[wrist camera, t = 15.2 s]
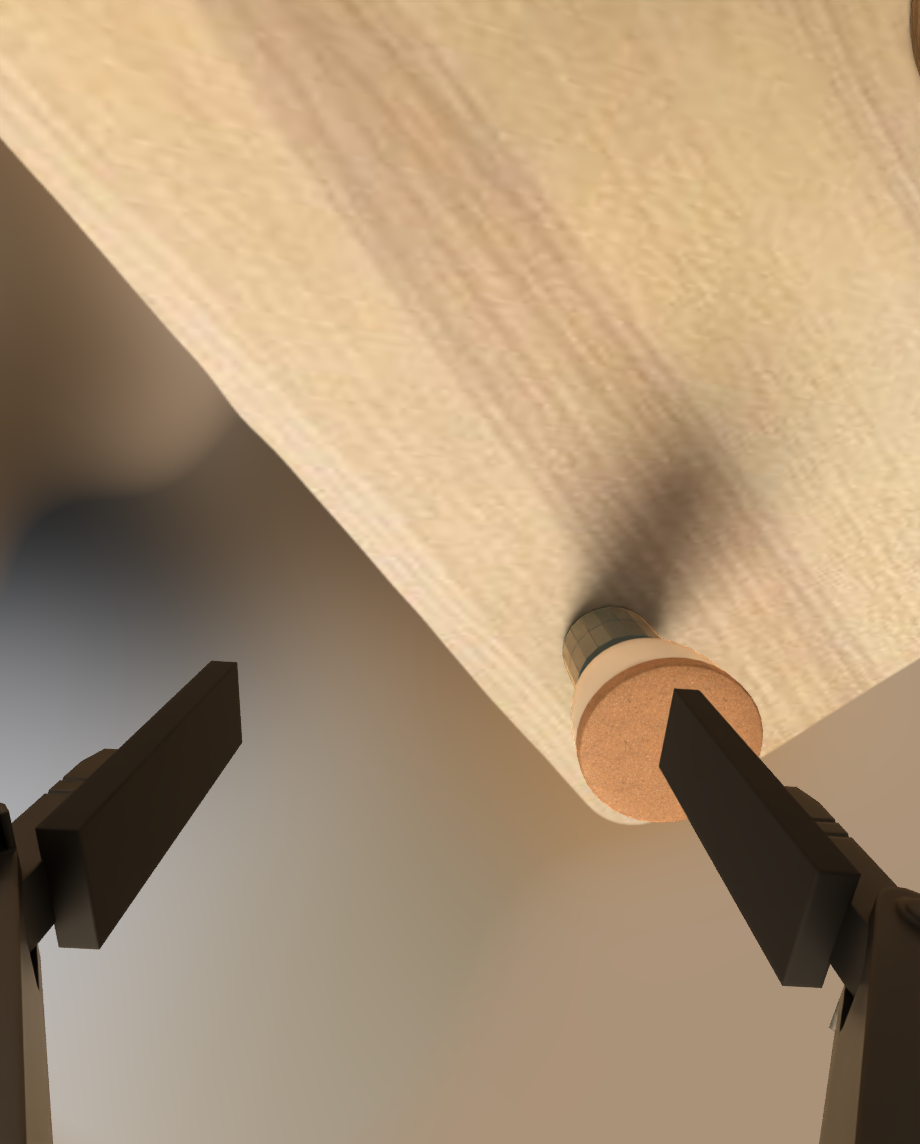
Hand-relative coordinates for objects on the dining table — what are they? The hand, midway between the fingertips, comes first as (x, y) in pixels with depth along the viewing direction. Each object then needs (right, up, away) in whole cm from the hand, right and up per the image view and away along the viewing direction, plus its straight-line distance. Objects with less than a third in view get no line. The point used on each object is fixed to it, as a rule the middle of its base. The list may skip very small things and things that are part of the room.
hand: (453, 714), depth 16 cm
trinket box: (+13, -4, +22) cm, 26 cm away
